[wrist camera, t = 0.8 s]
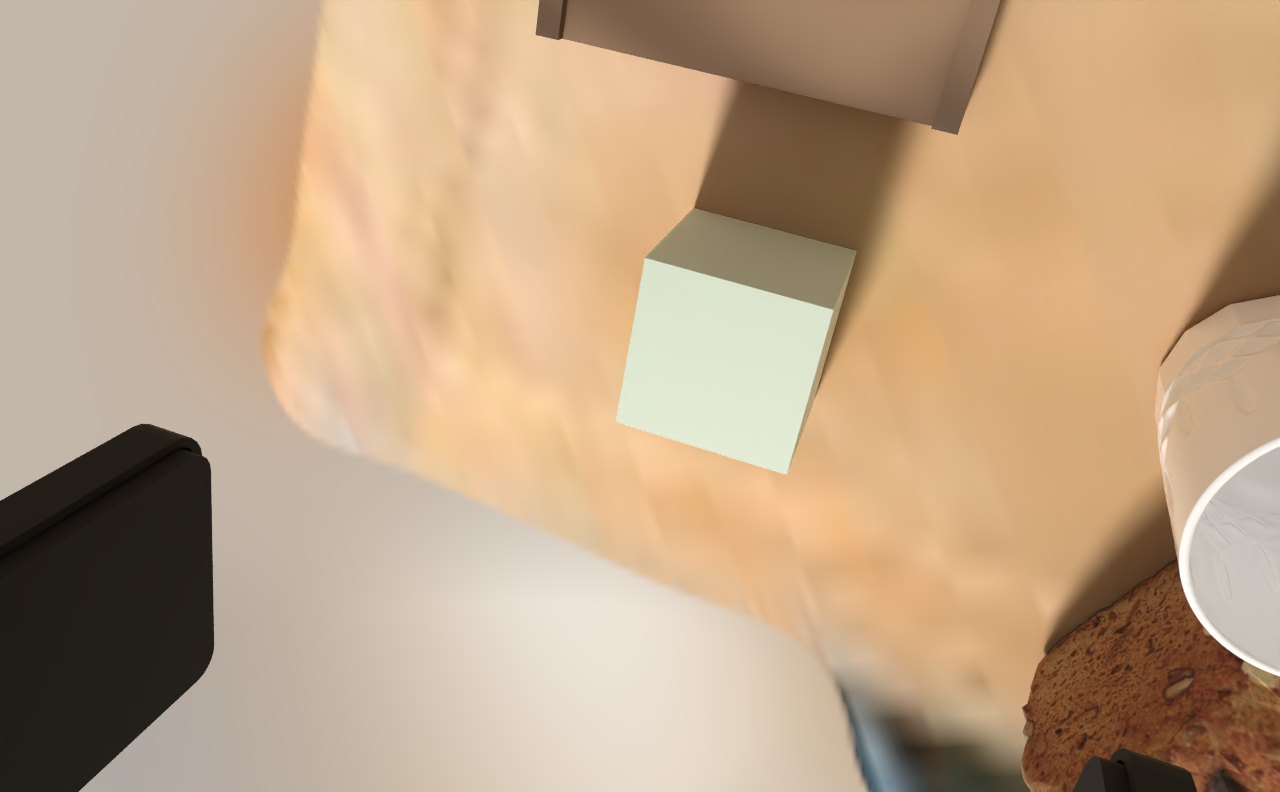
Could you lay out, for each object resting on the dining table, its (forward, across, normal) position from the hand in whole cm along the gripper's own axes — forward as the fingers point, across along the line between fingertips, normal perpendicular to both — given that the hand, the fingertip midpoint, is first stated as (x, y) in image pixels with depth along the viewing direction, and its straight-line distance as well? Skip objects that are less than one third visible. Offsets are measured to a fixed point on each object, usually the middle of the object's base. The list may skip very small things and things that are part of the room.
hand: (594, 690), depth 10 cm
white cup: (+28, -15, +4) cm, 31 cm away
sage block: (+28, +2, +5) cm, 28 cm away
